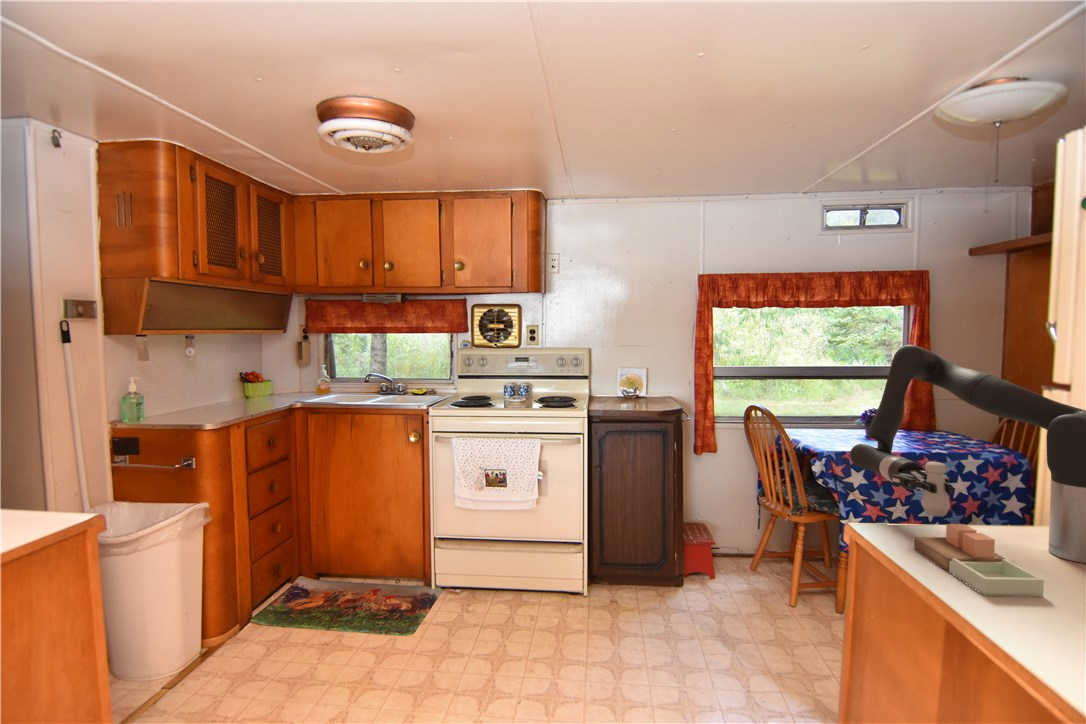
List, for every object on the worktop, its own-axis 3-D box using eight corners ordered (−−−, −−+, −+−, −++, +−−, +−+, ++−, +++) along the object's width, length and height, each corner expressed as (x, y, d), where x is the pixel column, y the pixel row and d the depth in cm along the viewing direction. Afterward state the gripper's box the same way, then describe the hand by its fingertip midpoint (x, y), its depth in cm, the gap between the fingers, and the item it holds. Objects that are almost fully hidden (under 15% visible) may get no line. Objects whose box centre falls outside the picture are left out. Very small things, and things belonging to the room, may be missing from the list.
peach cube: (980, 550, 123) (981, 532, 122) (994, 557, 119) (994, 539, 118) (962, 550, 123) (962, 532, 123) (975, 557, 119) (975, 539, 119)
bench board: (966, 549, 130) (966, 537, 130) (1005, 572, 118) (1005, 558, 118) (914, 549, 131) (914, 537, 131) (947, 571, 119) (947, 558, 119)
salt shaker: (940, 510, 138) (941, 459, 137) (955, 517, 132) (956, 465, 132) (916, 510, 139) (916, 459, 138) (929, 517, 133) (930, 465, 132)
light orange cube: (963, 540, 128) (964, 524, 128) (976, 547, 124) (976, 530, 124) (946, 540, 128) (946, 524, 128) (957, 547, 124) (958, 530, 124)
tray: (1002, 573, 118) (1002, 557, 118) (1043, 597, 107) (1043, 579, 107) (949, 572, 119) (949, 556, 118) (984, 596, 108) (985, 579, 108)
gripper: (874, 458, 150) (913, 474, 133) (928, 457, 149) (973, 474, 132) (874, 485, 150) (912, 504, 133) (927, 484, 149) (973, 504, 132)
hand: (942, 489), depth 132 cm, fingers closed on salt shaker, 3 cm apart
